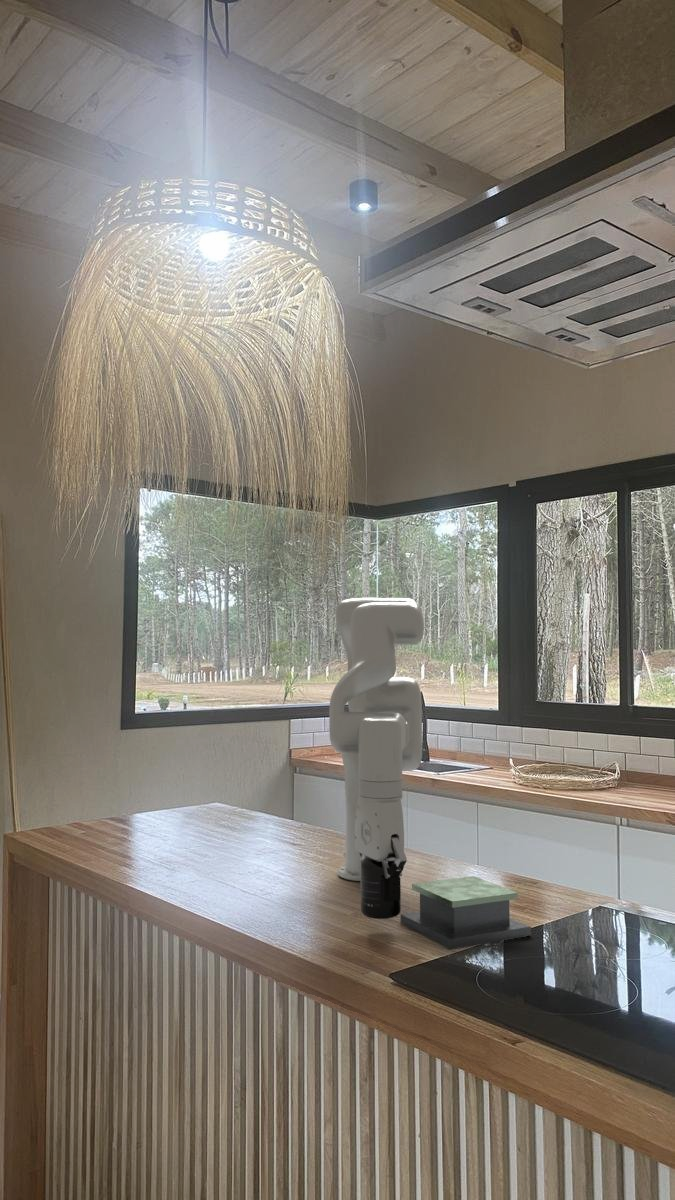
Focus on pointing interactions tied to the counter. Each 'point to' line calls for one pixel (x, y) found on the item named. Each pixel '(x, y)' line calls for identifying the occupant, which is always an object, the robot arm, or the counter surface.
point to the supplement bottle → (375, 891)
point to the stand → (464, 912)
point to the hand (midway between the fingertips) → (380, 894)
